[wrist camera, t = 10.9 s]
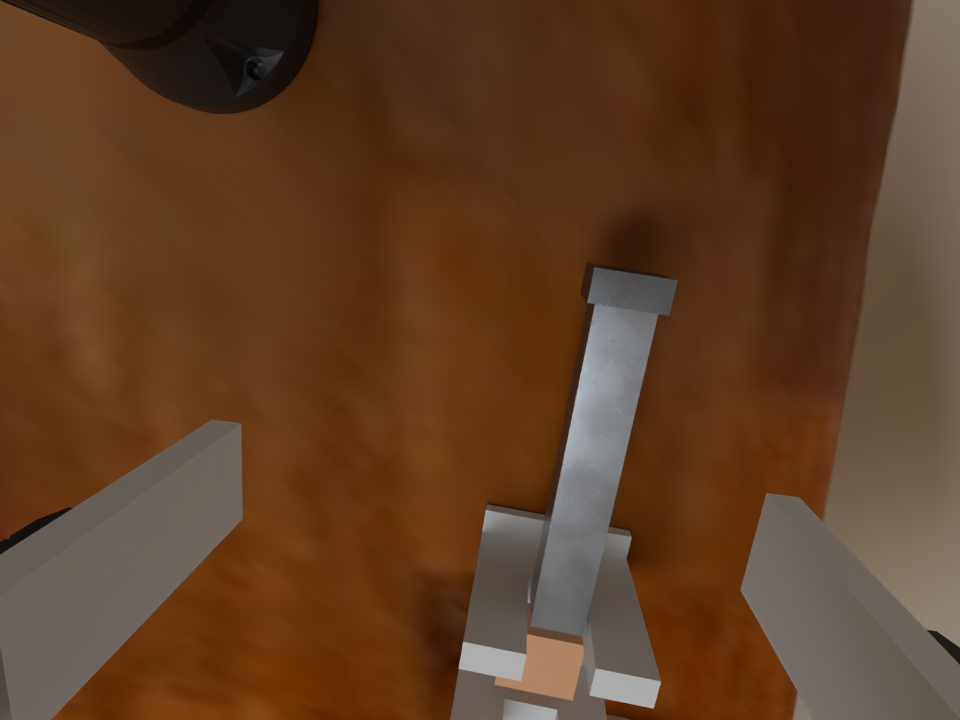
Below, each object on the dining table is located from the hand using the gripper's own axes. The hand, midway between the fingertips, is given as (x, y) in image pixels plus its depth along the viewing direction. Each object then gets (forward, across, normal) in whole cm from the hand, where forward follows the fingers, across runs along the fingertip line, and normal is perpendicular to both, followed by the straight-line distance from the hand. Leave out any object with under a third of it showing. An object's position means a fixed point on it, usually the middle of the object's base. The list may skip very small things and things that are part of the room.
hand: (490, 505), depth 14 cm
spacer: (+24, +5, -23) cm, 34 cm away
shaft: (+23, +6, -7) cm, 25 cm away
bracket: (+28, +5, -25) cm, 38 cm away
